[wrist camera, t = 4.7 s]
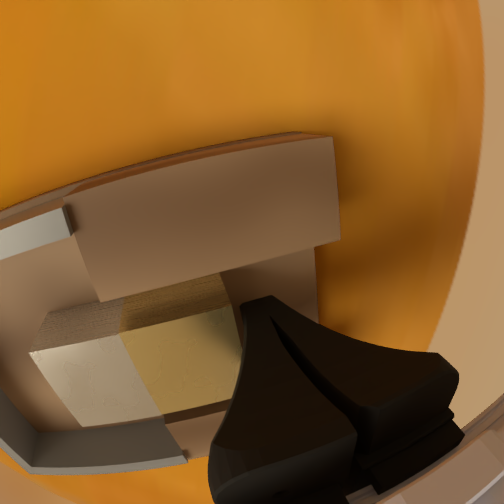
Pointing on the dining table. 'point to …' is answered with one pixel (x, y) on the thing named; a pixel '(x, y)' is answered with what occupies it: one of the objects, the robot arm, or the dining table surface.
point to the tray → (79, 441)
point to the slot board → (172, 252)
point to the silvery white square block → (91, 364)
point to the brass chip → (183, 342)
